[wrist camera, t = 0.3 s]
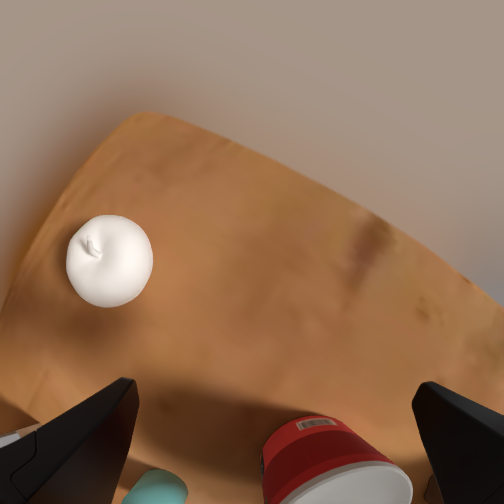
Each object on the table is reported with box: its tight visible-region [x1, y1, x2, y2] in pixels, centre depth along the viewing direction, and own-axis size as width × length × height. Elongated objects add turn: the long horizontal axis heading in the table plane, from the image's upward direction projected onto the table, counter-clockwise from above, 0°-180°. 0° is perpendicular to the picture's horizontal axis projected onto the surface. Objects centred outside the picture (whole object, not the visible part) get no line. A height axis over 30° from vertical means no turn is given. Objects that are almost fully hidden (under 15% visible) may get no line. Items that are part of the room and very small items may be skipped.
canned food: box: [260, 416, 413, 504], centre depth 14 cm, size 8×8×11 cm
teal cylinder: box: [121, 469, 188, 504], centre depth 15 cm, size 4×4×5 cm
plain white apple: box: [66, 215, 153, 308], centre depth 19 cm, size 7×7×8 cm
